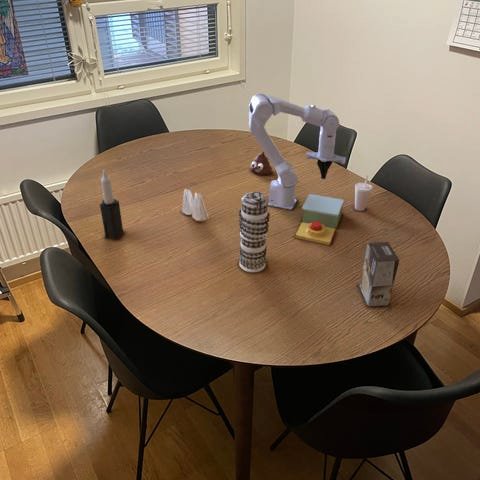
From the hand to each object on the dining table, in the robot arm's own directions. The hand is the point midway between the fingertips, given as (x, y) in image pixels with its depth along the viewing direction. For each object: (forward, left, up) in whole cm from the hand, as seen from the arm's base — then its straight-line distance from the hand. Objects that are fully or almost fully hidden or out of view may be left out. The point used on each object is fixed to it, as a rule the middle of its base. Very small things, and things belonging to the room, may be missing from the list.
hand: (323, 177), depth 176 cm
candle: (-62, -50, -11) cm, 80 cm away
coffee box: (+26, -49, -11) cm, 56 cm away
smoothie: (+15, 0, -11) cm, 19 cm away
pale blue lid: (+3, -12, -5) cm, 13 cm away
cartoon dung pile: (-13, +244, -52) cm, 250 cm away
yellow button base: (+3, -24, -10) cm, 26 cm away
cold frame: (+3, -12, -10) cm, 16 cm away
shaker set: (-41, -29, -11) cm, 51 cm away
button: (+3, -24, -8) cm, 25 cm away
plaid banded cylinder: (-12, -48, -11) cm, 50 cm away
